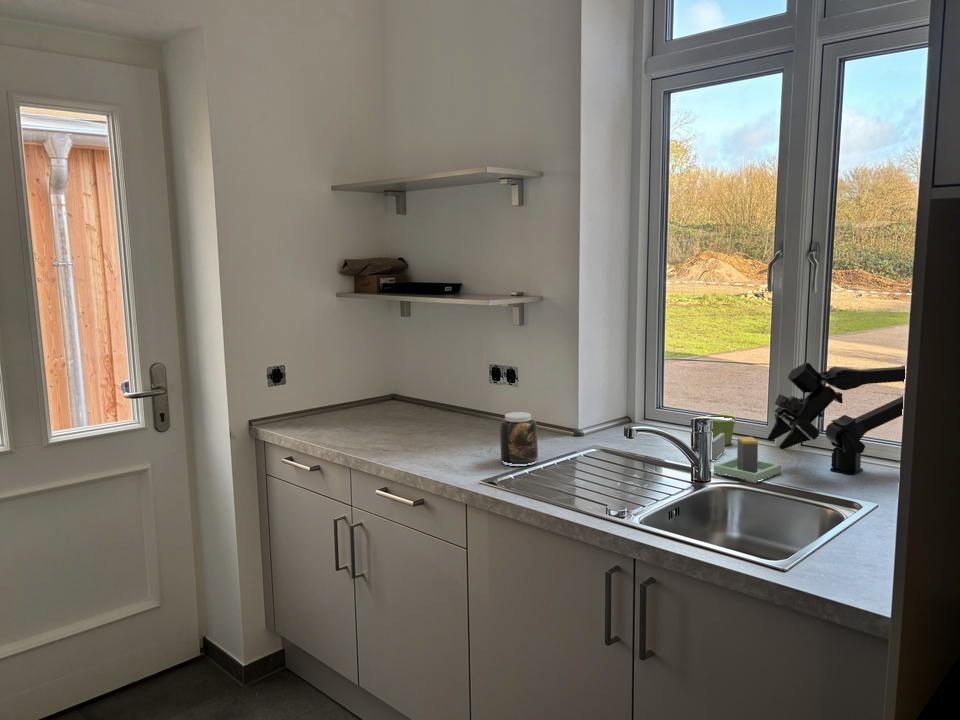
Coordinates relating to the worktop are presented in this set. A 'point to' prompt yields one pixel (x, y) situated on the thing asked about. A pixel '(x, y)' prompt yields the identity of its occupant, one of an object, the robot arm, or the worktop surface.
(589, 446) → the worktop surface
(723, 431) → the plant pot
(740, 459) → the grey yellow-capped canister
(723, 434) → the panel
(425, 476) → the worktop surface
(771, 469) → the tray
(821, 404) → the robot arm
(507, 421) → the jar
